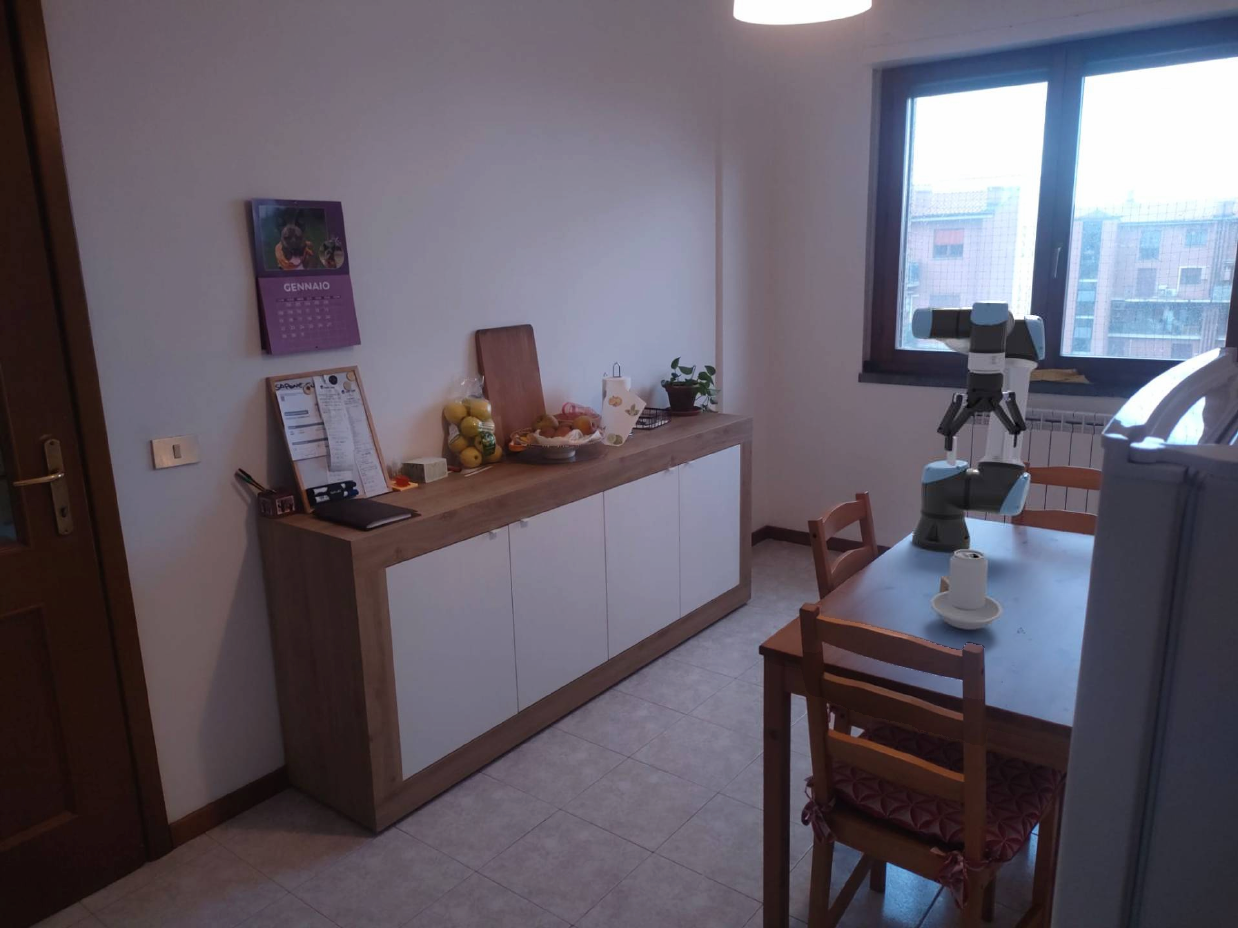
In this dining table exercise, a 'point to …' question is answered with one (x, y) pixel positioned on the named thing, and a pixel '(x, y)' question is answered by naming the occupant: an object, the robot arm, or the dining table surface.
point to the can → (967, 580)
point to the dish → (966, 612)
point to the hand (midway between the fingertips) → (979, 463)
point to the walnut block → (944, 584)
